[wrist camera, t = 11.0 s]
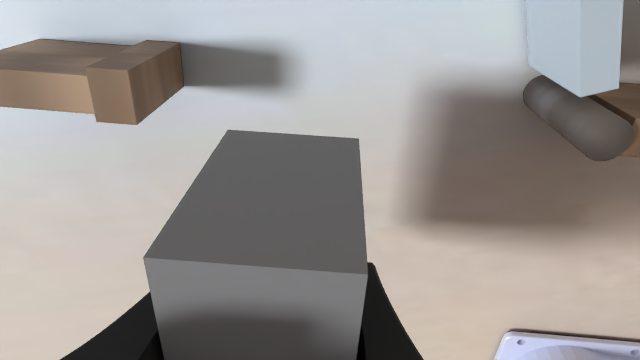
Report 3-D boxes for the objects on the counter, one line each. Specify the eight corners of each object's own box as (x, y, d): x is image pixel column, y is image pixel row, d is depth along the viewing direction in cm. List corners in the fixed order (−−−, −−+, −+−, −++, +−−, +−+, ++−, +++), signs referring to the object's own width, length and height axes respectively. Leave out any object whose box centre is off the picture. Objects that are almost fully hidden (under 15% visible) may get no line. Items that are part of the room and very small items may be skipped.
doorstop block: (358, 138, 12) (367, 274, 7) (339, 323, 16) (336, 498, 11) (228, 129, 13) (143, 257, 7) (239, 315, 16) (190, 485, 11)
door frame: (651, 78, 18) (759, 122, 13) (632, 121, 19) (726, 176, 14) (37, 32, 19) (-68, 58, 14) (49, 75, 20) (-46, 114, 15)
